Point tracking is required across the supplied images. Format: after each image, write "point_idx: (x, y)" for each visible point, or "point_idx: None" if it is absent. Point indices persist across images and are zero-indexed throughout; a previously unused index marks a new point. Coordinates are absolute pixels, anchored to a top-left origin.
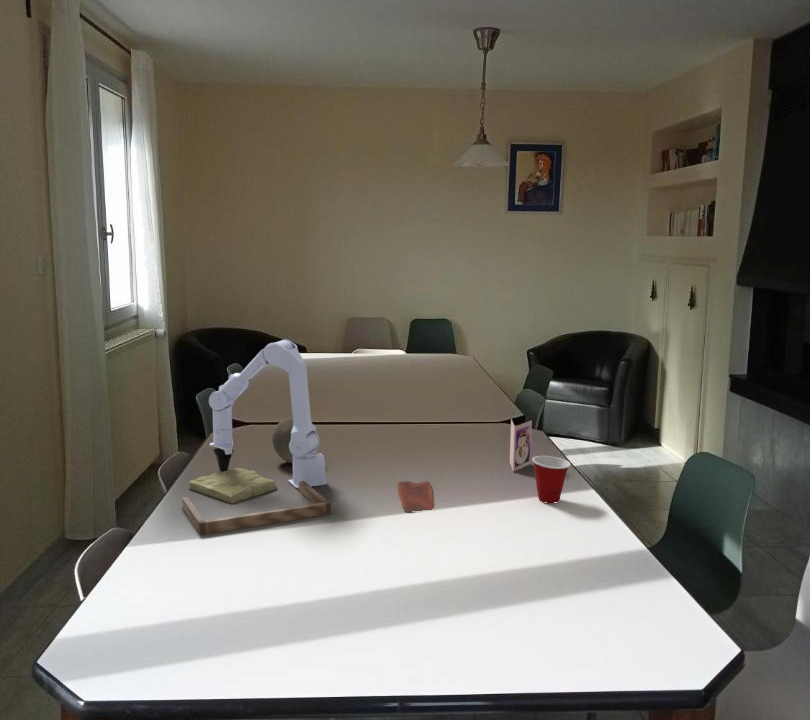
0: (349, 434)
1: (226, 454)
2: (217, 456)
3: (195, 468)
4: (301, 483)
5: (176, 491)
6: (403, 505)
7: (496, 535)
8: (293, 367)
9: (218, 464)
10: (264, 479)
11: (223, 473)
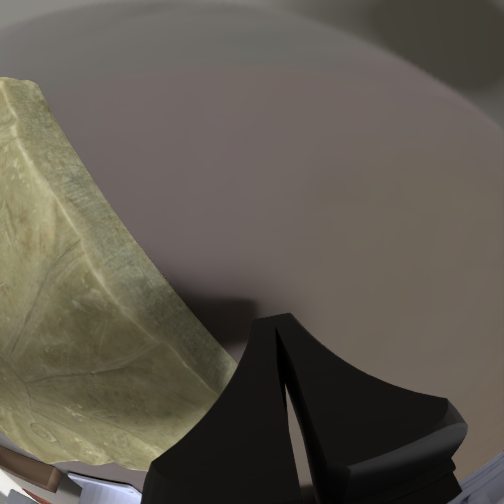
0: None
1: (15, 492)
2: (204, 433)
3: (479, 139)
4: (35, 482)
5: (17, 29)
6: (40, 499)
7: (3, 486)
8: None
9: (294, 341)
10: (46, 453)
11: (75, 345)
